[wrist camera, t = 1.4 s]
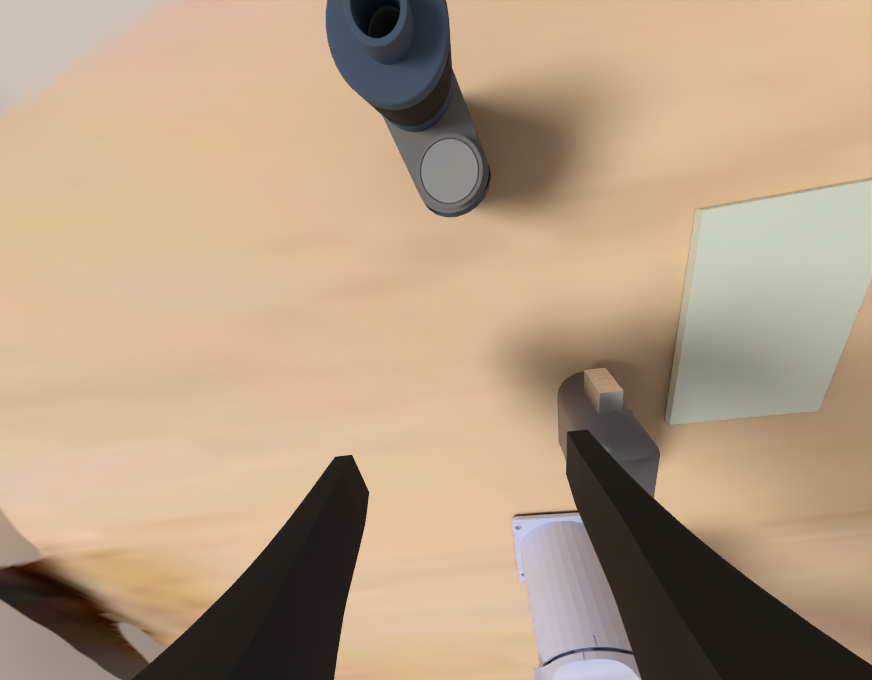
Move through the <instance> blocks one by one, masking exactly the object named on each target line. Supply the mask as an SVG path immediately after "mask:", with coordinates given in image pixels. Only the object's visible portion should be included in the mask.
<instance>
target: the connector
mask: <svg viewBox="0 0 872 680" xmlns="http://www.w3.org/2000/svg"><path fill="white" fill-rule="evenodd" d="M623 392H624V391H623V389H622V388H621V387H620V386H619V384H618V383H617V382H616V381H615V379H614V378H613V377H612V375H611V374H610V373H609V372H608V370H607V369H606V368H596V369H588V370H584V372H581V373H577V374H574V375H572V376H570V377H569V378H567V379H566V380H565V381H564V382H563V383H562V384H561V386H560V388H559V390H558V396H557V397H558V430H559V443H560V446H561V449H562V451H563V454H564V456H565V459H566V458H567V432H568V431H577V430H588V431H590V432H591V433H592V435H593V436H594V437H595V438H596V439H597V440H598V441H599V443H600V444H601V445H602V446H603V447H604V448H605V449H606V450H607V451H608V453H609V454H610V455H611V456H612V457H613V458H614V459H615V460H616V461H617V462H618V463H619V464H620V465H621V466H622V467H623V469H624V470H625V471H626V472H627V473H628V474H629V475H630V476H631V477H632V478H633V479H634V480H635V481H636V482H637V483H638V484H639V485H640V486H641V487H643V488H644V489H645V490H646V491H647V492H648V493H649V494H650V495H651V496H652V497H653V498H654V492H655V485H656V478H657V472H658V465H659V458H660V453H659V449H658V447H657V445H656V444H655V443H654V441H653V440H652V439H651V437H650V436H649V435H648V433H647V432H646V431H645V429H644V428H643V427H642V426H641V424H640V423H639V422H638V420H637V419H636V418H635V416H634V415H633V414H632V412H631V411H630V410H629V408H628V407H627V406H626V404H625V403H624V402H623Z"/></svg>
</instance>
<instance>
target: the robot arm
mask: <svg viewBox="0 0 872 680" xmlns="http://www.w3.org/2000/svg"><path fill="white" fill-rule="evenodd" d="M566 475H567V478H568V481H569V485H570V488H571V491H572V495H573V498H574V501H575V504H576V507H577V510H578V512H577V513H562V514H546V515H530V516H516V517H513V518H512V528H513V536H514V543H515V551H516V559H517V566H518V574H519V581H520V582H521V583H526V588H527V594H528V600H529V606H530V612H531V618H532V624H533V630H534V636H535V642H536V648H537V654H538V660H539V666H540V667H539V668H534V669H533V672H534V679H535V680H872V665H871V664H869V663H868V662H866V661H865V660H863V659H862V658H860V657H858V656H857V655H856V654H854V653H853V652H851V651H850V650H848V649H847V648H845V647H844V646H842V645H841V644H840V643H838V642H837V641H835V640H834V639H832V638H831V637H829V636H828V635H826V634H825V633H823V632H822V631H821V630H819V629H818V628H816V627H815V626H813V625H812V624H810V623H809V622H808V621H806V620H805V619H804V618H802V617H801V616H799V615H798V614H797V613H795V612H794V611H793V610H791V609H790V608H788V607H787V606H786V605H784V604H783V603H782V602H780V601H779V600H777V599H776V598H775V597H773V596H772V595H771V594H769V593H768V592H766V591H765V590H764V589H762V588H761V587H760V586H758V585H757V584H755V583H754V582H753V581H751V580H750V579H749V578H747V577H746V576H745V575H744V574H742V573H741V572H740V571H739V570H737V569H736V568H735V567H733V566H732V565H731V564H730V563H728V562H727V561H726V560H724V559H723V558H722V557H721V556H719V555H718V554H717V553H716V552H715V551H713V550H712V549H711V548H710V547H708V546H707V545H706V544H705V543H704V542H702V541H701V540H700V539H699V538H698V537H696V536H695V535H694V534H693V533H692V532H691V531H689V530H688V529H687V528H686V527H685V526H684V525H682V524H681V523H680V522H679V521H678V520H677V519H676V518H675V517H673V516H672V515H671V514H670V513H669V512H668V511H667V510H666V509H665V508H664V507H662V506H661V505H660V504H659V503H658V502H657V501H656V500H655V499H654V498H653V497H652V496H651V495H650V494H649V493H648V492H647V491H646V490H645V489H644V488H643V487H641V486H640V485H639V484H638V483H637V482H636V481H635V480H634V479H633V478H632V477H631V476H630V475H629V474H628V473H627V472H626V471H625V470H624V469H623V467H622V466H621V465H620V464H619V463H618V462H617V461H616V460H615V459H614V458H613V457H612V456H611V455H610V454H609V453H608V451H607V450H606V449H605V448H604V447H603V446H602V445H601V444H600V443H599V441H598V440H597V439H596V438H595V437H594V436H593V435H592V433H591V432H590V431H588V430H577V431H568V432H567V458H566ZM368 497H369V491H368V489H367V487H366V484H365V482H364V480H363V478H362V476H361V474H360V471H359V469H358V467H357V465H356V463H355V460H354V458H353V456H352V455H347V456H338V457H335V458H334V459H333V461H332V462H331V463H330V465H329V466H328V467H327V469H326V470H325V471H324V473H323V474H322V475H321V477H320V478H319V480H318V481H317V482H316V484H315V485H314V486H313V488H312V489H311V491H310V492H309V493H308V495H307V496H306V497H305V499H304V500H303V501H302V503H301V504H300V505H299V507H298V508H297V509H296V510H295V512H294V513H293V514H292V516H291V517H290V518H289V520H288V521H287V522H286V523H285V525H284V526H283V527H282V528H281V530H280V531H279V532H278V533H277V535H276V536H275V537H274V538H273V539H272V541H271V542H270V543H269V544H268V546H267V547H266V548H265V549H264V550H263V552H262V553H261V554H260V555H259V556H258V557H257V558H256V560H255V561H254V562H253V563H252V564H251V565H250V566H249V568H248V569H247V570H246V571H245V572H244V573H243V574H242V575H241V576H240V577H239V578H238V579H237V581H236V582H235V583H234V584H233V585H232V586H231V587H230V588H229V589H228V590H227V591H226V592H225V593H224V594H223V595H222V596H221V597H220V598H219V599H218V600H217V601H216V602H215V603H214V604H213V605H212V606H211V607H210V608H209V609H208V610H207V611H206V612H205V613H204V614H203V615H202V616H201V617H200V618H199V619H198V620H197V621H196V622H195V623H194V624H193V625H192V626H191V627H190V628H189V629H188V630H187V631H185V632H184V633H183V634H182V635H181V636H180V637H179V638H178V639H177V640H176V641H175V642H174V643H173V644H171V645H170V646H169V647H168V648H167V649H166V650H165V651H164V652H163V653H161V655H159V656H158V657H157V658H156V659H155V660H154V661H153V662H151V663H150V664H149V665H148V666H147V667H146V668H145V669H143V670H142V671H141V672H140V673H139V674H138V675H137V676H135V677H134V678H133V679H132V680H334V675H335V667H336V660H337V653H338V647H339V641H340V634H341V628H342V622H343V616H344V611H345V606H346V601H347V597H348V593H349V589H350V585H351V581H352V577H353V572H354V568H355V564H356V560H357V556H358V552H359V548H360V544H361V540H362V535H363V531H364V527H365V521H366V514H367V506H368Z"/></svg>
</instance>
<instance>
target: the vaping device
mask: <svg viewBox="0 0 872 680" xmlns="http://www.w3.org/2000/svg"><path fill="white" fill-rule="evenodd" d="M326 31H327V39H328V43H329V47H330V51H331V54H332V57H333V59H334V62H335V64H336V66H337V68H338V70H339V72H340V73H341V75H342V77H343V78H344V79H345V81H346V82H347V83H348V84H349V86H350V87H351V88H352V89H353V90H355V91H356V92H357V93H358V94H359V95H360V96H361V97H362V98H363V99H365V100H366V101H367V102H368V103H369V104H370V105H371V106H373V107H374V108H375V109H376V108H377V109H376V110H377V111H378V112H379V113H381V114H382V116H383V118H384V120H385V122H386V124H387V126H388V128H389V130H390V133H391V135H392V137H393V139H394V141H395V143H396V145H397V147H398V150H399V152H400V154H401V156H402V158H403V160H404V162H405V164H406V167H407V169H408V171H409V173H410V175H411V177H412V179H413V182H414V184H415V186H416V188H417V190H418V192H419V194H420V196H421V198H422V200H423V201H424V203H425V205H426V206H427V207H428V209H429V210H431V211H432V212H434V213H435V214H437V215H440V216H444V217H457V216H460V215H463V214H466V213H468V212H470V211H471V210H472V209H474V208H475V207H477V206H478V205H479V203H480V202H481V201H482V200H483V199H484V198H485V195H486V193H487V191H488V189H489V186H490V179H491V173H490V168H489V165H488V163H487V159H486V157H485V154H484V151H483V149H482V146H481V143H480V141H479V138H478V135H477V133H476V130H475V127H474V125H473V122H472V119H471V117H470V114H469V112H468V109H467V106H466V104H465V101H464V98H463V96H462V93H461V90H460V88H459V85H458V82H457V80H456V77H455V74H454V72H453V69H452V62H451V45H450V28H449V16H448V9H447V3H446V0H327V7H326ZM449 49H450V50H449Z"/></svg>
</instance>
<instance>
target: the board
mask: <svg viewBox="0 0 872 680" xmlns="http://www.w3.org/2000/svg"><path fill="white" fill-rule="evenodd" d="M871 279H872V178H869V179H864V180H858V181H852V182H847V183H841V184H835V185H830V186H824V187H818V188H813V189H807V190H802V191H796V192H790V193H785V194H779V195H773V196H768V197H762V198H756V199H751V200H745V201H740V202H734V203H728V204H723V205H717V206H711V207H706V208H700V209H696V210H695V217H694V223H693V230H692V237H691V244H690V251H689V257H688V264H687V271H686V278H685V285H684V291H683V298H682V305H681V312H680V319H679V325H678V332H677V339H676V346H675V353H674V359H673V366H672V373H671V380H670V387H669V393H668V400H667V407H666V414H665V420H666V421H667V423H668V424H669V425H676V424H687V423H697V422H708V421H718V420H729V419H739V418H750V417H760V416H771V415H781V414H792V413H802V412H813V411H819V409H820V407H821V404H822V402H823V399H824V397H825V394H826V392H827V389H828V387H829V384H830V382H831V379H832V377H833V374H834V372H835V369H836V367H837V364H838V362H839V359H840V357H841V354H842V352H843V349H844V347H845V344H846V342H847V339H848V337H849V334H850V332H851V329H852V327H853V324H854V322H855V319H856V317H857V314H858V312H859V309H860V307H861V304H862V302H863V299H864V296H865V294H866V291H867V289H868V286H869V284H870V281H871Z"/></svg>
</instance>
